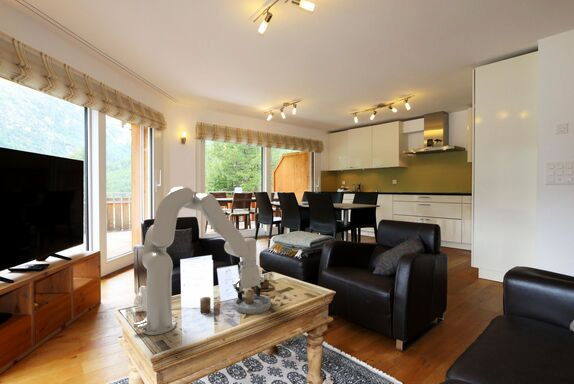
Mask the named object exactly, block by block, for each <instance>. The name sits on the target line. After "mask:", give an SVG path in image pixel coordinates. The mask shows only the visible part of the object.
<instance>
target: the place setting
mask: <svg viewBox="0 0 574 384" xmlns="http://www.w3.org/2000/svg"><path fill="white" fill-rule="evenodd" d="M260 281H261V279H260ZM256 287H257V286H254V287H251V289H253V290H254V293H256ZM269 287H270V288H269ZM268 288H269V289H268ZM273 289H274V285H273V284H272V283H270V280H269V279H265V280H264V282H263V284H262V286H261V288H260V293H264V295H265V296H267V294H266V293H265V292H270V291H273Z"/></svg>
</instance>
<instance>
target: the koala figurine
mask: <svg viewBox="0 0 574 384" xmlns="http://www.w3.org/2000/svg"><path fill="white" fill-rule="evenodd" d="M133 300H134V301H133V305H134V307H138V308H137V310H136V312H137V313H139V312H146V313H147V307H146V285H141V286H140V287H138V293H137V294H136V295H135V297H134V299H133Z"/></svg>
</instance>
